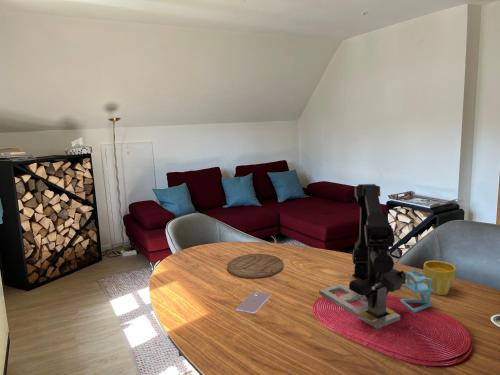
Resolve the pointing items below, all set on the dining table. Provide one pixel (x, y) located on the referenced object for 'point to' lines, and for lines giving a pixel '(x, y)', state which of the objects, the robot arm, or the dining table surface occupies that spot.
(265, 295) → the mobile phone
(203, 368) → the dining table surface
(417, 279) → the light blue stand
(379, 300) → the steel peg
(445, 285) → the plant pot
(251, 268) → the trivet
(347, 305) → the grey slotted board
